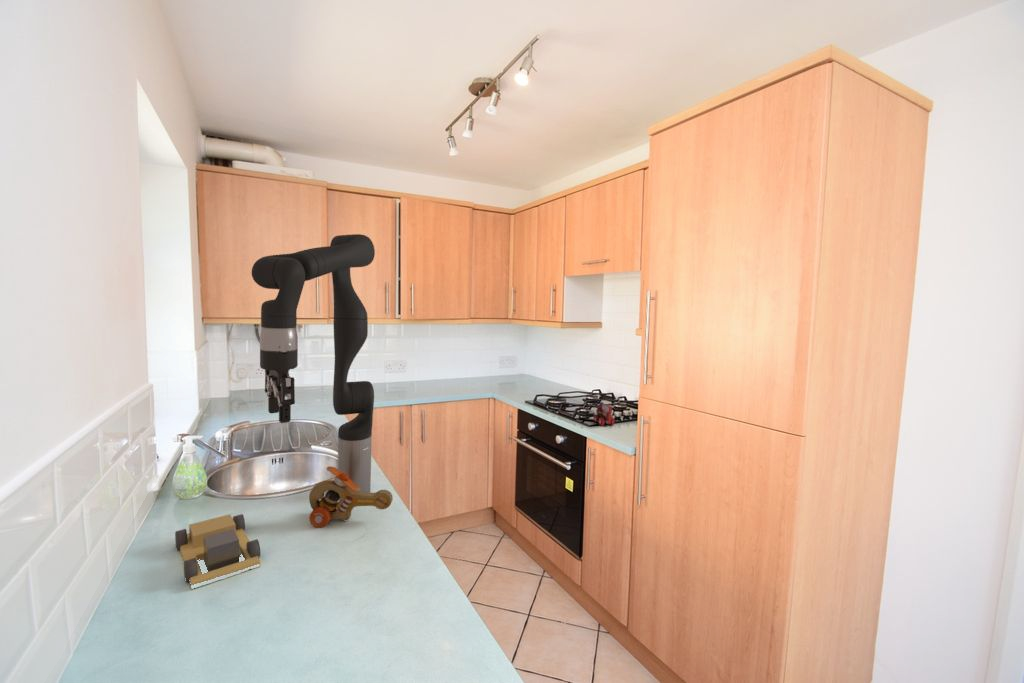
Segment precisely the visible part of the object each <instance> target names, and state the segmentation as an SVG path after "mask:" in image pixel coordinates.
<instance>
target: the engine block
mask: <svg viewBox="0 0 1024 683" xmlns="http://www.w3.org/2000/svg"><path fill="white" fill-rule="evenodd" d="M204 562H205V565H206V567H207V570H208V572H210V571H213V570H216V569H219V568H222V567H225V566H228V565H231V564H234V563H238V562H239V539H238V537H237V535H236V533H235V531H234V529H231V530H227V531H224V532H220V533H216V534H213V535H209V536H205V537H204Z"/></svg>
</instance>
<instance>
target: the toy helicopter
mask: <svg viewBox="0 0 1024 683" xmlns="http://www.w3.org/2000/svg"><path fill="white" fill-rule="evenodd" d="M326 470H327V472H329V473H331V475H334V476H335V477H334V480H330V479H329V480H328V479H327V480H323V481H320V482H319V481H318V483H316V484H315V485H314V486H313V487H312V488H311V490H310V492H309V497H308V499H309V501H308V502H309V504H310V507H311V509H312V511H311V512H310V514H309V516H308V517H309V518H308V521H309V522H310V523H309V524H310V525H312V526H313V527H315V528H324V527H325V526H326V525H327V524H329V522H330V520H335V519H340V521H342V520H347V521H349V520H350V518H351V516H352V511H353V509H354V508H356V507H376V509H379V510H386V509H388V508H389V507H390V506H391V504H392V503H393V498H394V496H393V494H392V492H390V491H389V490H387V489H379V490H378V491H376V492H370V493H369V492H355V491H359V490H360V487H359V486H357V485H356V484H355V483H354V482H353V481H351V480H350V479H349V478H348V477H349V476H348V474H347V473H342V472H341V471H339V470H338V467H337V468H336V467H335V466H331V465H329V466H327V467H326ZM353 490H354V491H353ZM348 519H349V520H348ZM323 526H324V527H323Z"/></svg>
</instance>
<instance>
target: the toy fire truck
mask: <svg viewBox="0 0 1024 683" xmlns="http://www.w3.org/2000/svg"><path fill="white" fill-rule="evenodd" d="M612 410H613V407H612V405H608V404H607V403H604V402H603V401H600V402H599V404H598V405H597V408H596V412H595V414H594V415H593V422H594V421H595V422H598V423H599V424H598V423H597V424H598V425H599V426H600V427H604V425H609V426H614V425H615V419H614V417H613V416H612ZM595 422H594V423H595Z"/></svg>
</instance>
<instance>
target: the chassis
mask: <svg viewBox="0 0 1024 683" xmlns="http://www.w3.org/2000/svg"><path fill="white" fill-rule="evenodd" d="M188 527H189V528H188V529H189V530H188V531H189V532H187V529H186V528H183V529H180V530H176V531H175V532H174V534H175V539H174V540H175V547H176V548H177V549H176V550H177V551H178V550H179V551H180V555H182V556H181V558H183V559H182V562H183V561H184V562H183V572H184V579H185V578H186V581H188V580H190V583H191V585H194V584H197V583H201V582H204V581H208V580H211V579H214V578H216V577H220V576H223V575H227V574H230V573H233V572H237V571H239V570H243V569H245V568H248V567H251V566H254V565H257V564H260V565H261V559H260V558H261V546H260V541H259V539H257V538H256V539H252V540H250V539H249V538H248V535H247V533H246V532H245V531H246V523H245V517H244V514H243V513H241V514H237V515H234V516H232V515H231V513H230V514H226V515H221V516H218V517H214V518H209V519H206V520H202V521H199V522H195V523H190V524H188ZM231 529H234V531H235V533H236V535H237V537H238V539H239V557H241V556H240V555H241V554H242V555H243V557H244V558H245V560H244V561H241V562H238V563H234V564H231V565H228V566H225V567H222V568H219V569H216V570H213V571H210V572H207V573H204V574H202V572H201V569H200V566H199V564H198V561H197V560H199V559H200V560H204V537H205V536H209V535H213V534H216V533H220V532H224V531H227V530H231ZM200 560H199V561H200ZM186 581H185V582H186ZM188 582H189V581H188ZM190 583H189V584H190Z"/></svg>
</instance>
